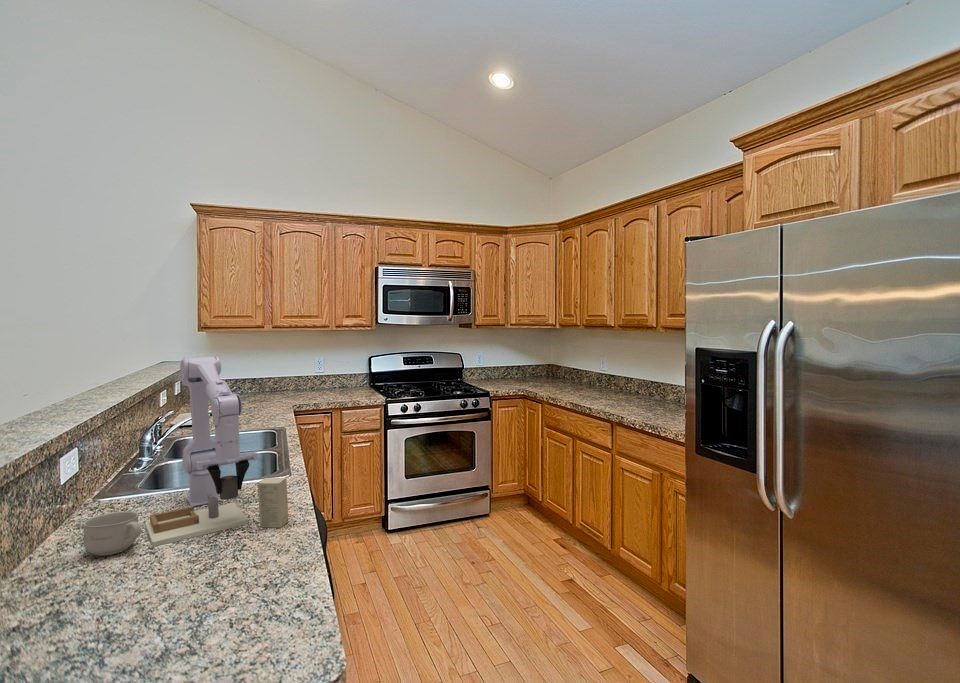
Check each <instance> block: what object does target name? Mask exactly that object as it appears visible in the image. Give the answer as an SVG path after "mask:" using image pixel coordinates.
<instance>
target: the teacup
mask: <svg viewBox="0 0 960 683" xmlns="http://www.w3.org/2000/svg"><path fill="white" fill-rule="evenodd" d="M139 516H140V514H139V513H138V512H136V511H130V510H129V511H127V510H126V511H117V512H116V511H114V512H108V513H103V514H101V515H100V514H99V515H96V516H93V517H89V518H88V519H87V520H85V521H83V523H82V526H83V545H84V548H85V549H86V550H87V552H88V553H92V554H93V555H95V556H97V557H98V556H99V557H100V556H101V557H104V556H111V555H114V554H119V553H121V552H124V551H125V550H127V549H128V548H130V547H131V545H133V543H135V541H136V540H137V539H138V538H139V537H140V536H141V533H142V527H141V525H140V523H139Z"/></svg>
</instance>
